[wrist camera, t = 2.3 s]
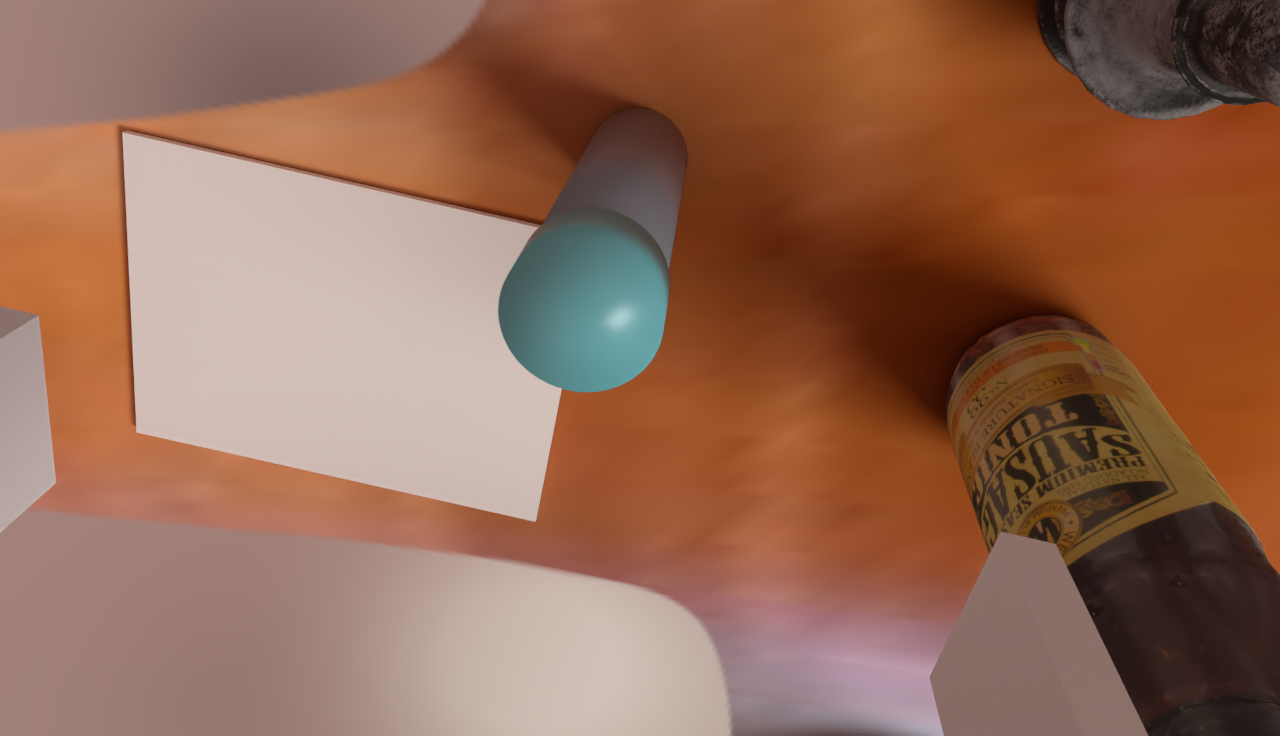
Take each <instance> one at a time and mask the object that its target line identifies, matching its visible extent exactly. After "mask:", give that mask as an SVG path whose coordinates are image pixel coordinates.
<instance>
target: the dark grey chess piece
mask: <svg viewBox="0 0 1280 736" xmlns="http://www.w3.org/2000/svg"><path fill="white" fill-rule="evenodd" d="M1038 6H1039V24H1040V27H1041V30H1042V33H1043V37H1044V40H1045V43H1046V45H1047V46H1048V48H1049V49H1050V51H1051V52H1052V54H1053V55H1054V57H1055V58H1056V59H1057V61H1058V62H1059V63H1060V64H1061V65H1063V66H1064V67H1065V68H1067V69H1068V70H1069V71H1071V72H1072V73H1073V74H1074V75H1076V76H1078V77H1079V79H1080V80H1081V82H1082V83H1083V85H1084V86H1085V87H1086V89H1087V90H1088V92H1090V93H1091V94H1092V95H1094V96H1095V97H1096V98H1097V99H1099V100H1100V101H1101V102H1103V103H1104V104H1105V105H1107V106H1108V107H1109V108H1111V109H1114V110H1116V111H1119V112H1122V113H1125V114H1127V115H1130V116H1133V117H1136V118H1144V119H1158V120H1169V119H1175V118H1181V117H1186V116H1192V115H1197V114H1200V113H1202V112H1204V111H1207V110H1209V109H1211V108H1214V107H1216V106H1219V105H1221V104H1234V105H1248V104H1254V103H1260V102H1269V103H1271V104H1274V105H1276V106H1279V107H1280V0H1038Z"/></svg>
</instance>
